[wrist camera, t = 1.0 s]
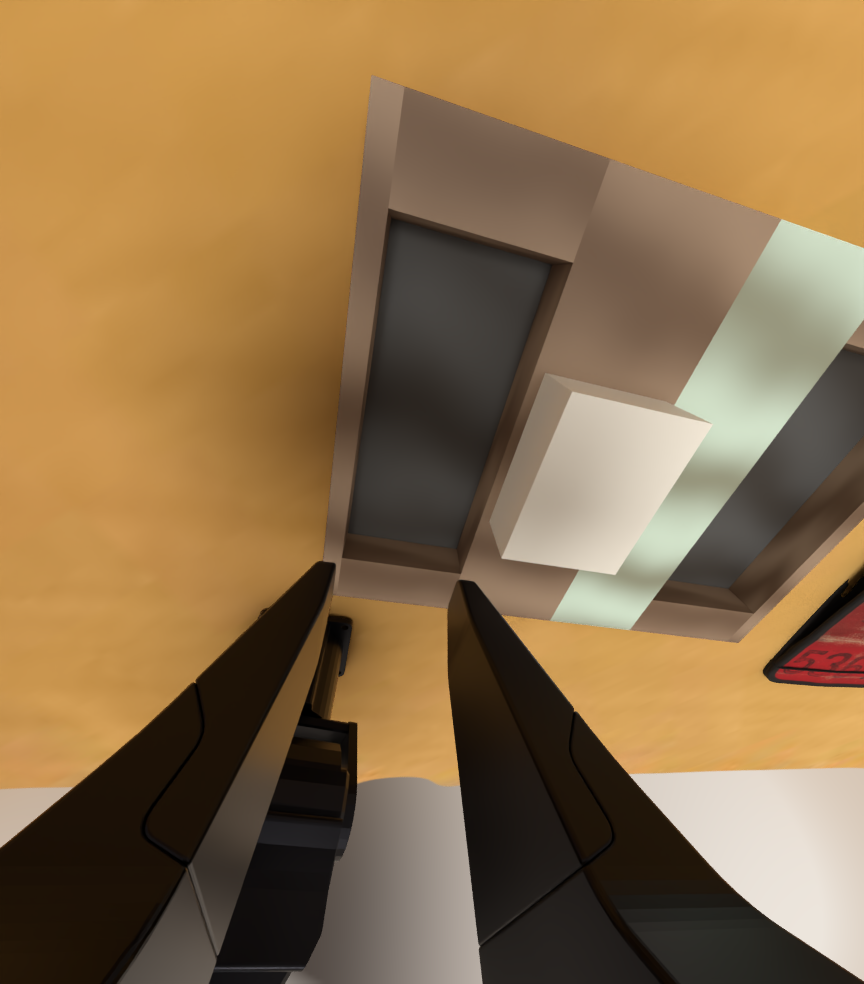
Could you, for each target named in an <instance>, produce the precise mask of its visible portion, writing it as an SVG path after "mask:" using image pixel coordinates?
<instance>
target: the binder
mask: <svg viewBox="0 0 864 984" xmlns="http://www.w3.org/2000/svg"><path fill="white" fill-rule="evenodd" d="M848 580H849V579H848ZM848 580H847V581H846V582H845V583H844V584H843V585H841V586H840V587H839V588H838V589H837V590H836V591H835V592H834V593H833V594H832V595H831V596H830V597H829V598H828V599H827V600H826V601H825V602H824V603H823V604H822V605H821V607H820V608H819V609H818V610H817V611H816V612H815V613H814V614H813V615H812V616H811V617H810V618H809V619H808V620H807V621H806V623H805V624H804V625H803V626H802V627H801V628H800V629H799V630H798V631H797V632H796V633H795V634H794V635H793V636H792V637H791V639H790V640H789V641H788V642H787V643H786V644H785V645H784V646H783V647H782V648H781V650H780V651H779V652H778V653H777V654H776V655H775V656H774V658H773V659H771V660H770V662H769V663H768V664H767V665H766V666H765V668H764V670H763V673H764V675H765V676H766V677H767V678H768V679H769V680H770V681H772V682H776V683H786V684H797V685H809V686H824V687H858V688H864V576H863V577H862V578H860V580H859V581H858V582H857V584H856V585H855V586H854V588H853V589H852V590H851V592H849V593H848V595H846V596H845V597H841V594H842V593H843V591H844V590H845V589H846V587H847V586H848V584H849V583H848Z"/></svg>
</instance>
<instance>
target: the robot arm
mask: <svg viewBox="0 0 864 984" xmlns="http://www.w3.org/2000/svg"><path fill="white" fill-rule="evenodd" d="M335 574H336V564H335V563H333V562H325V561H318V562H316V563H315V564H314V565H313V566H312V567H311V568H310V569H309V570H308V571H307V572H306V573H305V574H304V575H303V576H302V577H301V578H300V579H299V580H298V581H297V582H296V583H294V584H293V585H292V586H291V587H290V588H289V589H288V590H287V591H286V592H285V593H284V594H283V595H282V596H281V597H280V598H279V599H278V600H277V601H276V602H275V603H274V604H273V605H272V606H271V607H270V608H269V609H268V610H263V611H261V613H260V615H259V617H258V619H257V620H256V621H255V622H254V623H253V624H252V625H251V626H250V627H249V628H248V629H247V630H246V631H245V632H244V633H243V634H242V635H241V636H240V637H239V638H238V639H237V640H236V641H235V642H234V643H233V644H232V645H231V646H229V647H228V648H227V649H226V650H225V651H224V652H223V653H222V654H221V655H220V656H219V657H218V658H217V659H216V660H215V661H214V662H213V663H212V664H211V665H210V666H209V667H208V668H207V669H206V670H205V671H204V672H203V673H202V674H201V675H200V676H199V677H197V679H196V683H191V684H190V685H189V686H188V687H187V688H186V689H185V690H184V691H183V692H182V693H181V694H180V695H179V696H178V697H177V698H176V699H175V700H174V701H173V702H171V703H170V704H169V705H168V706H167V707H166V708H165V709H164V710H163V711H162V712H161V713H160V714H159V715H157V716H156V717H155V718H154V719H153V720H152V721H151V722H150V723H149V724H148V725H147V726H146V727H144V728H143V729H142V730H141V731H140V732H139V733H138V734H137V735H135V736H134V737H133V738H132V739H131V740H130V741H128V742H127V743H126V744H125V745H124V746H123V747H121V748H120V749H119V750H118V751H117V752H116V753H114V754H113V755H112V756H111V757H110V758H108V759H107V760H106V761H105V762H104V763H103V764H101V765H100V766H99V767H98V768H97V769H95V770H94V771H93V772H92V773H91V774H89V775H88V776H87V777H86V778H85V779H83V780H82V781H81V782H80V783H78V784H77V785H76V786H75V787H74V788H72V789H71V790H70V791H69V792H68V793H66V794H65V795H64V796H63V797H62V798H60V799H59V800H58V801H57V802H55V803H54V804H53V805H52V806H51V807H49V808H48V809H47V810H46V811H45V812H43V813H42V814H41V815H40V816H38V817H37V818H36V819H35V820H34V821H33V822H31V823H30V824H29V825H28V826H26V827H25V828H24V829H23V830H22V831H20V832H19V833H18V834H17V835H15V836H14V837H13V838H12V839H11V840H9V841H8V842H7V843H6V844H5V845H3V846H2V847H1V848H0V984H285V982H286V981H287V979H288V977H289V976H290V973H291V972H293V971H294V972H297V971H298V972H300V971H302V970H303V969H304V968H305V966H306V964H307V963H308V961H309V958H310V956H311V954H312V952H313V950H314V948H315V946H316V944H317V942H318V940H319V938H320V936H321V932H322V928H323V921H324V914H325V909H326V902H327V895H328V890H329V885H330V880H331V876H332V871H333V866H334V862H338V861H339V860H340V859H341V857H342V855H343V853H344V851H345V849H346V845H347V842H348V839H349V835H350V831H351V827H352V822H353V817H354V811H355V804H356V795H357V794H356V793H357V723H355V722H348V723H346V722H340V721H334V720H330V718H331V713H332V707H333V702H334V696H335V691H336V685H337V680H338V677H340V676H342V675H344V671H345V666H346V660H347V654H348V648H349V643H350V637H351V631H352V625H353V622H352V621H351V620H350V619H346V618H337V617H328V615H329V610H330V605H331V601H332V596H333V590H334V582H335ZM448 681H449V691H450V700H451V709H452V717H453V726H454V735H455V744H456V752H457V761H458V770H459V778H460V787H461V796H462V805H463V813H464V822H465V831H466V840H467V848H468V857H469V865H470V875H471V883H472V891H473V901H474V909H475V918H476V927H477V936H478V943H479V945H480V948H479V955H480V964H481V973H482V981H483V984H864V981H862V980H861V979H859V978H858V977H856V976H855V975H853V974H852V973H850V972H849V971H847V970H846V969H844V968H842V967H841V966H840V965H838V964H837V963H835V962H834V961H832V960H830V959H829V958H827V957H826V956H824V955H823V954H821V953H820V952H818V951H817V950H815V949H814V948H812V947H811V946H809V945H808V944H806V943H805V942H803V941H802V940H800V939H799V938H797V937H796V936H794V935H792V934H791V933H789V932H788V931H787V930H785V929H783V928H782V927H780V926H779V925H777V924H776V923H775V922H773V921H772V920H770V919H769V918H768V917H766V916H765V915H764V914H762V913H761V912H760V911H759V910H757V909H756V908H755V907H753V906H752V905H751V904H750V903H749V902H748V901H746V900H745V899H744V898H743V897H742V896H741V895H739V894H738V893H737V892H736V891H735V890H734V889H733V888H732V887H731V886H730V885H729V884H728V883H727V882H726V881H725V880H724V879H722V877H721V876H720V875H719V874H718V873H717V872H716V871H715V870H714V869H713V868H712V867H711V866H710V865H709V864H708V863H707V861H706V860H705V859H704V858H703V857H702V856H701V855H700V854H699V853H698V851H697V850H696V849H695V848H694V847H693V846H692V845H691V844H690V843H689V841H688V840H687V839H686V838H685V837H684V836H683V835H682V834H681V833H680V831H679V830H678V829H677V828H676V827H675V826H674V825H673V824H672V823H671V822H670V820H669V819H668V818H667V817H666V816H665V815H664V814H663V813H662V811H661V810H660V809H659V808H658V807H657V806H656V805H655V804H654V803H653V801H652V800H651V799H650V798H649V797H648V796H647V795H646V794H645V793H644V791H643V790H642V789H641V788H640V787H639V786H638V785H637V784H636V782H635V781H634V780H633V779H632V778H631V777H630V776H629V774H628V773H627V772H626V771H625V770H624V769H623V768H622V766H621V765H620V764H619V763H618V762H617V761H616V760H615V758H614V757H613V756H612V755H611V754H610V752H609V751H608V750H607V749H606V747H605V746H604V745H603V744H602V743H601V741H600V740H599V739H598V738H597V736H596V735H595V734H594V733H593V731H592V730H591V729H590V728H589V726H588V725H587V724H586V723H585V721H584V720H583V719H582V718H581V716H580V715H579V714H578V712H576V711H574V708H573V706H572V705H571V704H570V702H569V701H568V700H567V699H566V697H565V696H564V695H563V693H562V692H561V691H560V690H559V688H558V687H557V686H556V684H555V683H554V682H553V681H552V679H551V678H550V677H549V676H548V674H547V673H546V672H545V670H544V669H543V668H542V667H541V665H540V664H539V663H538V662H537V660H536V659H535V658H534V656H533V655H532V654H531V653H530V651H529V650H528V649H527V647H526V646H525V645H524V644H523V642H522V641H521V640H520V639H519V637H518V636H517V635H516V633H515V632H514V631H513V630H512V628H511V627H510V626H509V624H508V623H507V622H506V621H505V619H504V618H503V617H502V616H501V614H500V613H499V612H498V610H497V609H496V608H495V607H494V605H493V604H492V603H491V601H490V600H489V599H488V598H487V596H486V595H485V594H484V593H483V591H482V590H481V589H480V587H479V586H478V585H477V584H476V583H475V582H474V581H469V580H458V581H457V582H456V584H455V587H454V590H453V593H452V596H451V598H450V601H449V605H448Z"/></svg>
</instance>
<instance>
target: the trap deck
mask: <svg viewBox="0 0 864 984" xmlns="http://www.w3.org/2000/svg"><path fill="white" fill-rule="evenodd" d="M545 373H548V374H552V375H557V376H561V377H565V378H569V379H573V380H578V381H582V382H586V383H590V384H594V385H599V386H603V387H607V388H611V389H615V390H620V391H624V392H628V393H632V394H636V395H641V396H645V397H649V398H653V399H657V400H662V401H666V402H668V403H670V404H672V405H674V406H676V407H678V408H680V409H683V410H685V411H687V412H689V413H691V414H693V415H695V416H697V417H699V418H701V419H704V420H706V421H708V422H710V423H712V424H713V425H712V427H711V428H710V430H709V432H708V433H707V435H706V436H705V438H704V439H703V441H702V442H701V444H700V445H699V447H698V448H697V450H696V452H695V453H694V455H693V456H692V458H691V459H690V461H689V462H688V464H687V465H686V467H685V469H684V470H683V472H682V473H681V475H680V476H679V478H678V479H677V481H676V482H675V484H674V485H673V487H672V489H671V490H670V492H669V493H668V495H667V496H666V498H665V499H664V501H663V502H662V504H661V505H660V507H659V509H658V510H657V512H656V513H655V515H654V516H653V518H652V519H651V521H650V522H649V524H648V525H647V527H646V529H645V530H644V532H643V533H642V535H641V536H640V538H639V539H638V541H637V542H636V544H635V545H634V547H633V549H632V550H631V552H630V553H629V555H628V556H627V558H626V559H625V561H624V562H623V564H622V565H621V567H620V569H619V570H618V572H617V573H616V575H612V574H605V573H598V572H591V571H584V570H578V569H571V568H564V567H557V566H550V565H543V564H536V563H529V562H522V561H515V560H509V559H502V558H501V555H500V552H499V549H498V546H497V543H496V540H495V537H494V534H493V531H492V528H491V525H490V522H489V521H490V518H491V516H492V513H493V510H494V508H495V505H496V502H497V500H498V497H499V494H500V492H501V489H502V486H503V484H504V481H505V478H506V476H507V473H508V470H509V468H510V465H511V462H512V460H513V457H514V454H515V452H516V449H517V446H518V444H519V441H520V438H521V436H522V433H523V430H524V428H525V425H526V423H527V420H528V417H529V415H530V412H531V409H532V407H533V404H534V401H535V399H536V396H537V393H538V391H539V388H540V385H541V383H542V380H543V377H544V375H545ZM863 519H864V248H862V247H859V246H856V245H853V244H850V243H848V242H845V241H842V240H839V239H836V238H833V237H831V236H828V235H825V234H822V233H819V232H816V231H813V230H811V229H808V228H805V227H802V226H799V225H796V224H794V223H791V222H788V221H785V220H782V219H779V218H777V217H774V216H771V215H768V214H765V213H762V212H760V211H757V210H754V209H751V208H748V207H745V206H742V205H740V204H737V203H734V202H731V201H728V200H725V199H723V198H720V197H717V196H714V195H711V194H708V193H706V192H703V191H700V190H697V189H694V188H691V187H688V186H686V185H683V184H680V183H677V182H674V181H671V180H669V179H666V178H663V177H660V176H657V175H654V174H652V173H649V172H646V171H643V170H640V169H637V168H635V167H632V166H629V165H626V164H623V163H620V162H617V161H615V160H612V159H609V158H606V157H603V156H600V155H598V154H595V153H592V152H589V151H586V150H583V149H581V148H578V147H575V146H572V145H569V144H566V143H563V142H561V141H558V140H555V139H552V138H549V137H546V136H544V135H541V134H538V133H535V132H532V131H529V130H527V129H524V128H521V127H518V126H515V125H512V124H510V123H507V122H504V121H501V120H498V119H495V118H492V117H490V116H487V115H484V114H481V113H478V112H475V111H473V110H470V109H467V108H464V107H461V106H458V105H456V104H453V103H450V102H447V101H444V100H441V99H439V98H436V97H433V96H430V95H427V94H424V93H421V92H419V91H416V90H413V89H410V88H407V87H404V86H402V85H399V84H396V83H393V82H390V81H387V80H385V79H382V78H379V77H376V76H373V75H372V76H371V86H370V96H369V106H368V116H367V126H366V136H365V146H364V156H363V166H362V176H361V186H360V196H359V206H358V216H357V226H356V236H355V246H354V256H353V266H352V276H351V286H350V296H349V306H348V316H347V326H346V336H345V346H344V356H343V366H342V376H341V386H340V396H339V406H338V416H337V426H336V436H335V446H334V456H333V466H332V476H331V486H330V496H329V506H328V516H327V526H326V536H325V546H324V556H323V561H325V562H333V563H335V564H336V574H335V582H334V590H333V595H337V596H345V597H354V598H362V599H371V600H379V601H388V602H396V603H405V604H413V605H422V606H430V607H439V608H447V609H448V605H449V601H450V598H451V596H452V593H453V590H454V587H455V584H456V582H457V581H458V580H469V581H474V582H475V583H476V584H477V585H478V586H479V587H480V589H481V590H482V591H483V593H484V594H485V595H486V596H487V598H488V599H489V600H490V601H491V603H492V604H493V605H494V607H495V608H496V609H497V610H498V612H499V613H500V614H501V615H506V616H515V617H523V618H532V619H540V620H549V621H557V622H565V623H574V624H582V625H591V626H599V627H608V628H616V629H625V630H633V631H642V632H650V633H658V634H667V635H675V636H684V637H692V638H701V639H709V640H718V641H726V642H735V643H739V642H740V641H741V640H742V639H743V638H744V637H745V636H746V635H747V634H748V633H749V632H750V631H751V630H752V629H753V628H754V627H755V626H756V625H757V624H758V623H759V622H760V621H761V620H762V619H763V618H764V617H765V616H766V615H767V614H768V613H769V612H770V611H771V610H772V609H773V608H774V607H775V606H776V605H777V604H778V603H779V602H780V601H781V600H782V599H783V598H784V597H785V596H786V595H787V594H788V593H789V592H790V591H791V590H792V589H793V588H794V587H795V586H796V585H797V584H798V583H799V582H800V581H801V580H802V579H803V578H804V577H805V576H806V575H807V574H808V573H809V572H810V571H811V570H812V569H813V568H814V567H815V566H816V565H817V564H818V563H819V562H820V561H821V560H822V559H823V558H824V557H825V556H826V555H827V554H828V553H829V552H830V551H831V550H832V549H833V548H834V547H835V546H836V545H837V544H838V543H839V542H840V541H841V540H842V539H843V538H844V537H845V536H847V535H848V534H849V533H850V532H851V531H852V530H853V529H854V528H855V527H856V526H857V525H858V524H859V523H860V522H861V521H862V520H863Z"/></svg>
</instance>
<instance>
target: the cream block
mask: <svg viewBox="0 0 864 984" xmlns="http://www.w3.org/2000/svg"><path fill="white" fill-rule="evenodd" d="M712 425H713V424H712V423H710V422H708V421H706V420H704V419H701V418H699V417H697V416H695V415H693V414H691V413H689V412H687V411H685V410H683V409H680V408H678V407H676V406H674V405H672V404H670V403H668V402H666V401H662V400H657V399H653V398H649V397H645V396H641V395H636V394H632V393H628V392H624V391H620V390H615V389H611V388H607V387H603V386H599V385H594V384H590V383H586V382H582V381H578V380H573V379H569V378H565V377H561V376H557V375H552V374H548V373H545V375H544V377H543V380H542V383H541V385H540V388H539V391H538V393H537V396H536V399H535V401H534V404H533V407H532V409H531V412H530V415H529V417H528V420H527V423H526V425H525V428H524V430H523V433H522V436H521V438H520V441H519V444H518V446H517V449H516V452H515V454H514V457H513V460H512V462H511V465H510V468H509V470H508V473H507V476H506V478H505V481H504V484H503V486H502V489H501V492H500V494H499V497H498V500H497V502H496V505H495V508H494V510H493V513H492V516H491V518H490V521H489V522H490V525H491V528H492V531H493V534H494V537H495V540H496V543H497V546H498V549H499V552H500V555H501V558H502V559H509V560H515V561H522V562H529V563H536V564H543V565H550V566H557V567H564V568H571V569H578V570H584V571H591V572H598V573H605V574H612V575H616V573H617V572H618V570H619V569H620V567H621V565H622V564H623V562H624V561H625V559H626V558H627V556H628V555H629V553H630V552H631V550H632V549H633V547H634V545H635V544H636V542H637V541H638V539H639V538H640V536H641V535H642V533H643V532H644V530H645V529H646V527H647V525H648V524H649V522H650V521H651V519H652V518H653V516H654V515H655V513H656V512H657V510H658V509H659V507H660V505H661V504H662V502H663V501H664V499H665V498H666V496H667V495H668V493H669V492H670V490H671V489H672V487H673V485H674V484H675V482H676V481H677V479H678V478H679V476H680V475H681V473H682V472H683V470H684V469H685V467H686V465H687V464H688V462H689V461H690V459H691V458H692V456H693V455H694V453H695V452H696V450H697V448H698V447H699V445H700V444H701V442H702V441H703V439H704V438H705V436H706V435H707V433H708V432H709V430H710V428H711V427H712Z"/></svg>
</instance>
